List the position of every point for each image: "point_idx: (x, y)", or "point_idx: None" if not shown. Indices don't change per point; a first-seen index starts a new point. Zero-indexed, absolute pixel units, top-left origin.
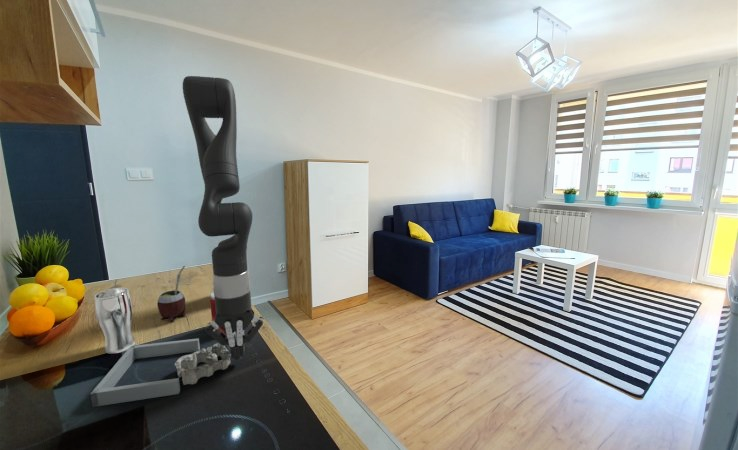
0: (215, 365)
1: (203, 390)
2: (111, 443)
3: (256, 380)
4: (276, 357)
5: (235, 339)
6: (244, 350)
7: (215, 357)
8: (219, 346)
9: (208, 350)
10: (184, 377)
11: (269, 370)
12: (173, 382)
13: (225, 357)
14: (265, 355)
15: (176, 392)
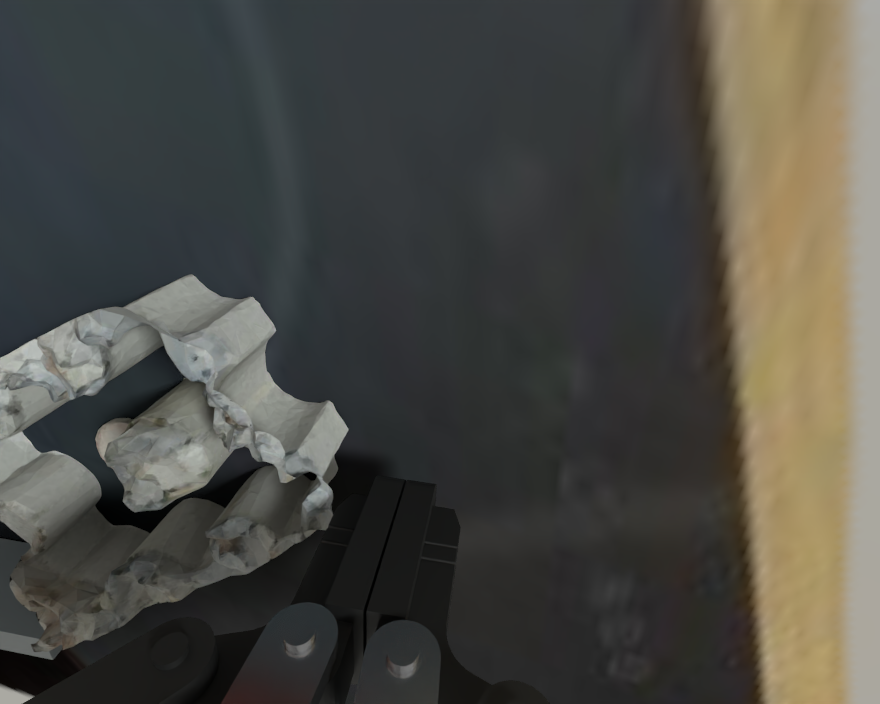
0: (237, 497)
1: (245, 600)
2: (25, 694)
3: (543, 643)
4: (748, 494)
5: (326, 700)
6: (457, 546)
7: (199, 478)
8: (166, 326)
9: (79, 392)
10: (77, 569)
11: (645, 602)
12: None
13: (289, 428)
14: (656, 433)
15: None
